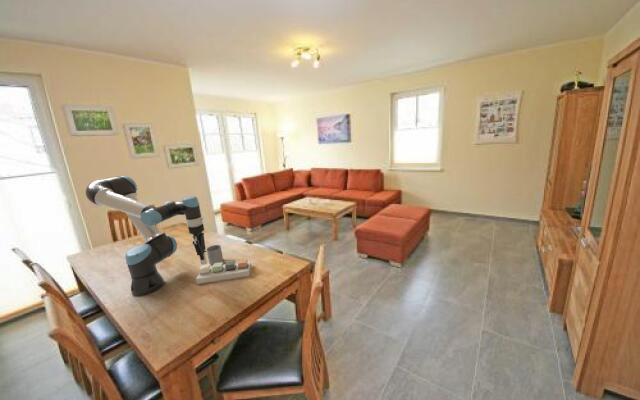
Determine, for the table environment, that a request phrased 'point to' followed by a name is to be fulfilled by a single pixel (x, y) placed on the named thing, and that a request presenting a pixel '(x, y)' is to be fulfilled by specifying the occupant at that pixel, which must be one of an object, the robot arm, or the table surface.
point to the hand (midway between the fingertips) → (204, 263)
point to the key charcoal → (230, 265)
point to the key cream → (205, 269)
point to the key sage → (217, 267)
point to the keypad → (224, 274)
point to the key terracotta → (242, 263)
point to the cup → (214, 254)
